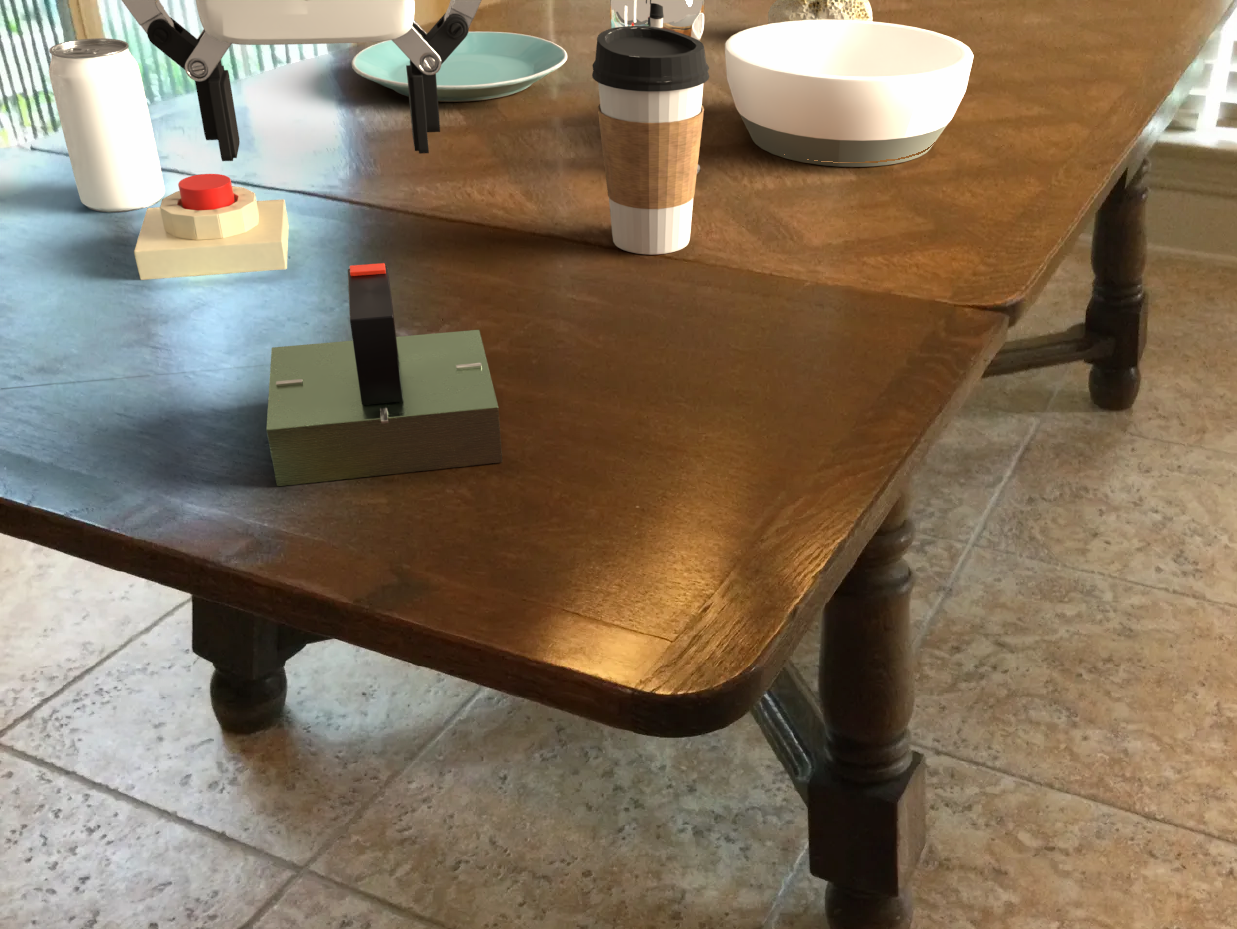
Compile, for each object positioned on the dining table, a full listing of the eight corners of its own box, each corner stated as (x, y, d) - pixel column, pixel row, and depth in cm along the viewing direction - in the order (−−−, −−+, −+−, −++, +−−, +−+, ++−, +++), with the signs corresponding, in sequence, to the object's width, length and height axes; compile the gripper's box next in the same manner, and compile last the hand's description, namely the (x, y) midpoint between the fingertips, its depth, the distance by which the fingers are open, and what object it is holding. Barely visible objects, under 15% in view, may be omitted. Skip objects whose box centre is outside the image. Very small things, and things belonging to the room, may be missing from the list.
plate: (397, 124, 124) (393, 94, 123) (326, 70, 140) (323, 42, 139) (605, 95, 134) (604, 67, 132) (516, 48, 150) (515, 22, 148)
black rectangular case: (403, 401, 70) (392, 311, 67) (361, 406, 70) (349, 315, 67) (397, 346, 76) (387, 261, 73) (358, 349, 75) (346, 264, 73)
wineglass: (703, 158, 117) (707, -85, 106) (701, 187, 111) (705, -69, 100) (616, 156, 117) (612, -87, 106) (609, 184, 111) (603, -71, 100)
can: (149, 215, 103) (115, 58, 96) (67, 213, 103) (27, 56, 96) (178, 188, 108) (147, 37, 102) (100, 186, 108) (64, 36, 102)
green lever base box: (276, 492, 69) (265, 432, 67) (281, 396, 78) (271, 340, 76) (503, 468, 71) (499, 409, 69) (482, 377, 81) (478, 322, 79)
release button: (180, 215, 93) (175, 191, 92) (185, 198, 96) (180, 175, 95) (233, 212, 94) (229, 188, 93) (236, 195, 97) (231, 172, 96)
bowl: (876, 95, 135) (884, 11, 131) (1011, 158, 119) (1026, 63, 114) (681, 120, 127) (682, 30, 122) (798, 191, 110) (804, 90, 106)
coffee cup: (653, 213, 105) (653, 18, 97) (728, 242, 100) (735, 39, 92) (573, 239, 100) (566, 35, 92) (648, 270, 95) (647, 58, 87)
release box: (140, 280, 92) (127, 226, 90) (153, 235, 99) (141, 184, 97) (287, 270, 94) (278, 216, 92) (289, 226, 101) (280, 175, 99)
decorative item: (867, -7, 158) (883, -29, 148) (856, 68, 160) (872, 51, 150) (769, -22, 157) (779, -45, 148) (759, 53, 159) (768, 36, 149)
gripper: (59, -225, 54) (143, 180, 63) (480, -217, 58) (500, 165, 67) (87, -237, 60) (160, 134, 69) (466, -230, 64) (487, 123, 73)
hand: (327, 149), depth 68 cm, fingers open, 9 cm apart
